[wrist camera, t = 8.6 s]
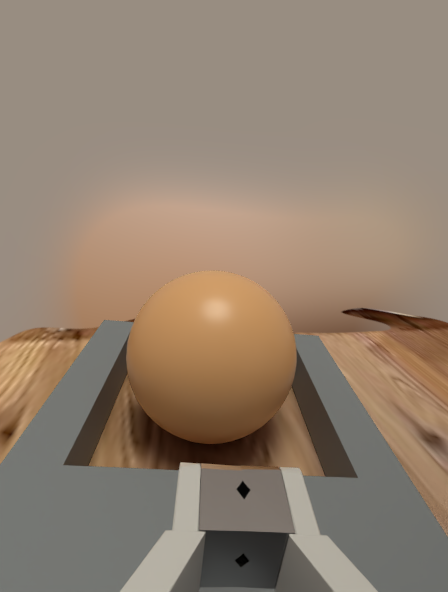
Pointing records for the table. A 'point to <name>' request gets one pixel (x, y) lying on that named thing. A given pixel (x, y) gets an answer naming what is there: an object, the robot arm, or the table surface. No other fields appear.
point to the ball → (211, 357)
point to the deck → (163, 483)
